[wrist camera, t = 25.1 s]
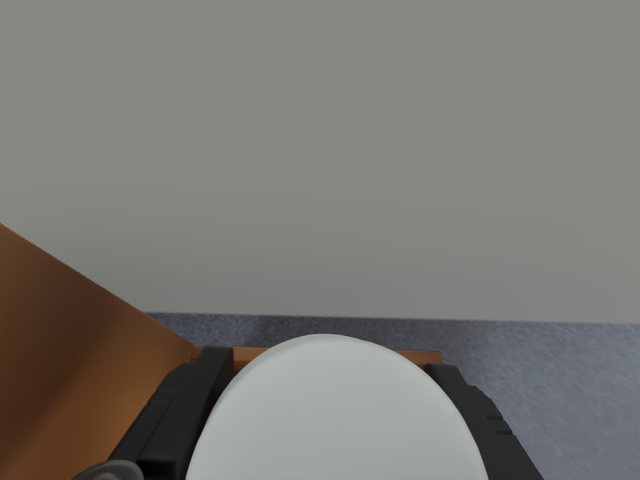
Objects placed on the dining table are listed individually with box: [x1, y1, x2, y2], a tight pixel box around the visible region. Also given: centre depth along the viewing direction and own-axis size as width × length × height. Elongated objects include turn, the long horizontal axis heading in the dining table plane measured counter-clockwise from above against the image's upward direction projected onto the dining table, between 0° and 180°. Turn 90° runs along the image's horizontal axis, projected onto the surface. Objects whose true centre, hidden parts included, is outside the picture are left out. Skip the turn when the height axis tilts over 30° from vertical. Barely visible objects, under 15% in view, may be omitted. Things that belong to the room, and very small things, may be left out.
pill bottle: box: [185, 334, 488, 480], centre depth 8 cm, size 5×5×10 cm
